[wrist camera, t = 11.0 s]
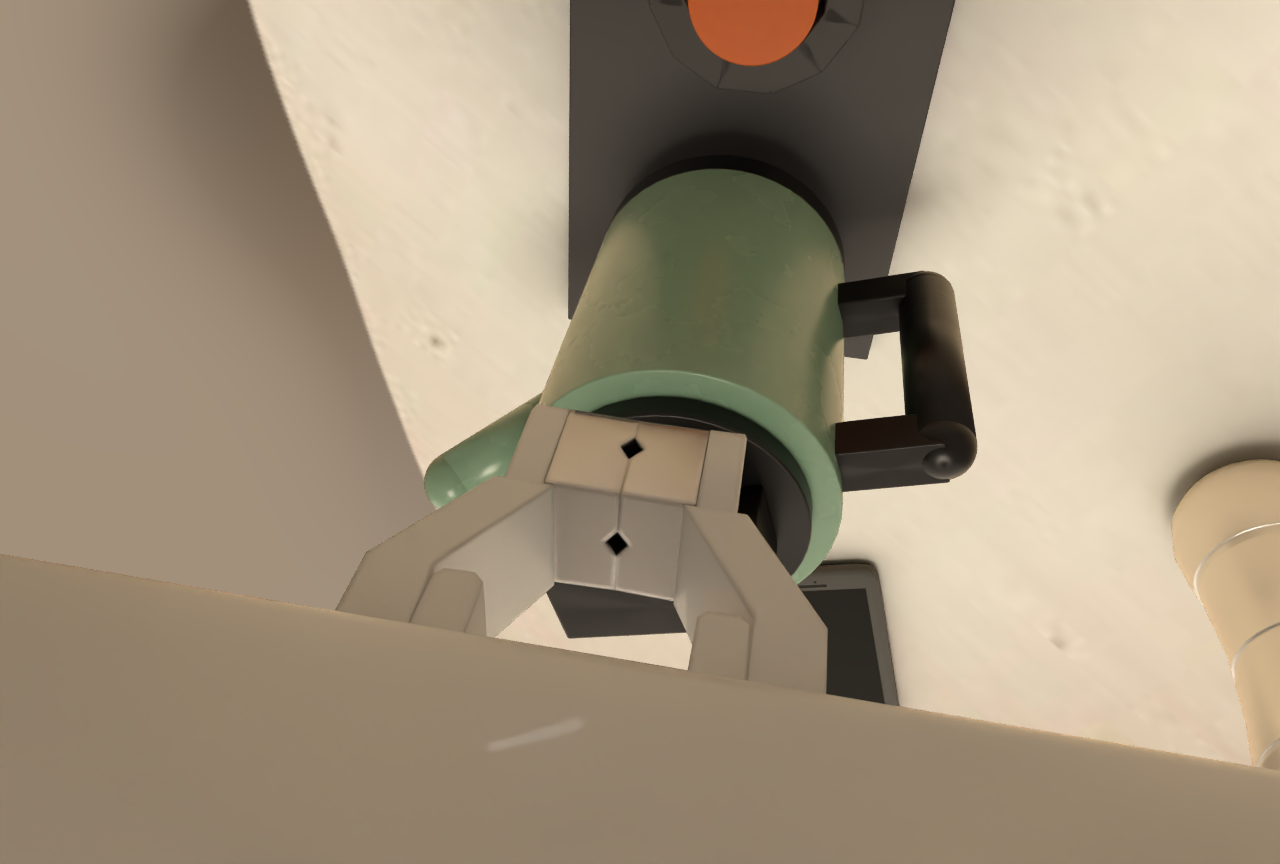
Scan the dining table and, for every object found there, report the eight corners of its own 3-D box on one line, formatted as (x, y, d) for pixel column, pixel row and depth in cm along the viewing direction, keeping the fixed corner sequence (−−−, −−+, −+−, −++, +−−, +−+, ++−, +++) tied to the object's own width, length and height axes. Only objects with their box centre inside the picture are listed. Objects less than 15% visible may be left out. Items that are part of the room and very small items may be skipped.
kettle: (932, 109, 33) (986, 429, 20) (955, 338, 38) (1009, 708, 25) (477, 198, 38) (281, 503, 25) (553, 390, 43) (425, 723, 30)
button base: (574, -171, 32) (556, -157, 30) (985, -135, 31) (994, -118, 29) (570, 312, 44) (557, 345, 42) (867, 352, 42) (867, 388, 40)
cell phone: (777, 726, 60) (777, 736, 60) (734, 567, 52) (732, 578, 51) (902, 725, 58) (902, 736, 57) (876, 560, 50) (877, 571, 49)
